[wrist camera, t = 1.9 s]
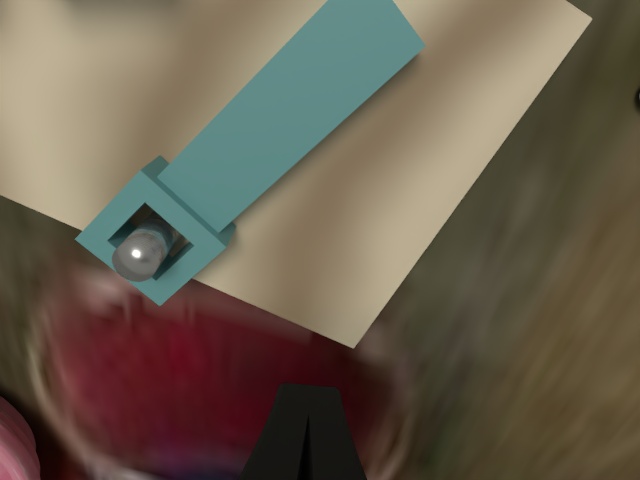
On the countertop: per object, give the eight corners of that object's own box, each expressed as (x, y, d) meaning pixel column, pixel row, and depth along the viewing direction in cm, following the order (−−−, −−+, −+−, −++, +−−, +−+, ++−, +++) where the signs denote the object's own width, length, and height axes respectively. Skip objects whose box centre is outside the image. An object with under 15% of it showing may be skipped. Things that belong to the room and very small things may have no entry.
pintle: (191, 215, 17) (161, 255, 14) (179, 243, 17) (148, 288, 14) (157, 199, 16) (118, 237, 13) (145, 228, 17) (106, 271, 14)
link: (175, 281, 18) (159, 306, 16) (99, 219, 17) (75, 239, 15) (426, 56, 14) (439, 60, 12) (350, -47, 13) (353, -57, 11)
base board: (573, 19, 14) (592, 18, 13) (352, 331, 20) (353, 348, 19) (-48, -400, 11) (-90, -448, 10) (-94, 133, 17) (-123, 141, 16)
